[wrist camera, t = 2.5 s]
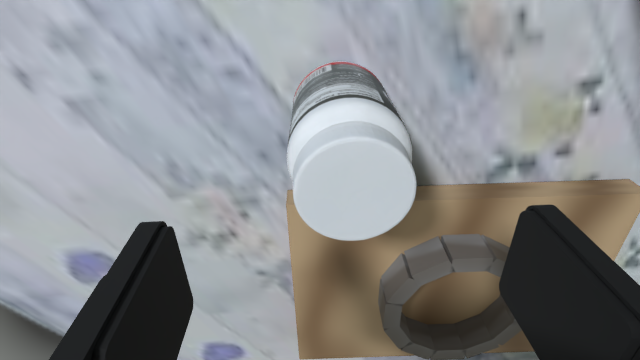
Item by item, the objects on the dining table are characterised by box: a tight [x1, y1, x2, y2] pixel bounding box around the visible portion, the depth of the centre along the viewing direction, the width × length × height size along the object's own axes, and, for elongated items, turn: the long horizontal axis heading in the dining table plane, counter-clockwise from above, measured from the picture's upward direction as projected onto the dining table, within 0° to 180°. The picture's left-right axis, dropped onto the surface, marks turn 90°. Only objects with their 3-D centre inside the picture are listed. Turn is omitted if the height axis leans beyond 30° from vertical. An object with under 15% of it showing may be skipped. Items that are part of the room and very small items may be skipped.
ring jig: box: [286, 179, 640, 360], centre depth 24 cm, size 20×14×4 cm
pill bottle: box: [287, 61, 417, 241], centre depth 15 cm, size 5×5×8 cm
